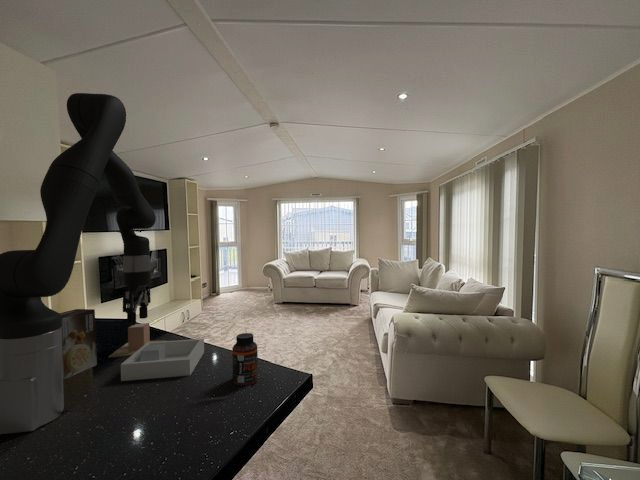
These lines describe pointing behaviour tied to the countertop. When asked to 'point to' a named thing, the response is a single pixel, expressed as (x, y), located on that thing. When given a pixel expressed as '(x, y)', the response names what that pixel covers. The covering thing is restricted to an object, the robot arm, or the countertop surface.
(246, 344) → the supplement bottle
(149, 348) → the plain block
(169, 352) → the bin
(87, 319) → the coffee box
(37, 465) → the countertop surface
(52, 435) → the countertop surface
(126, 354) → the board
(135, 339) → the labelled block
